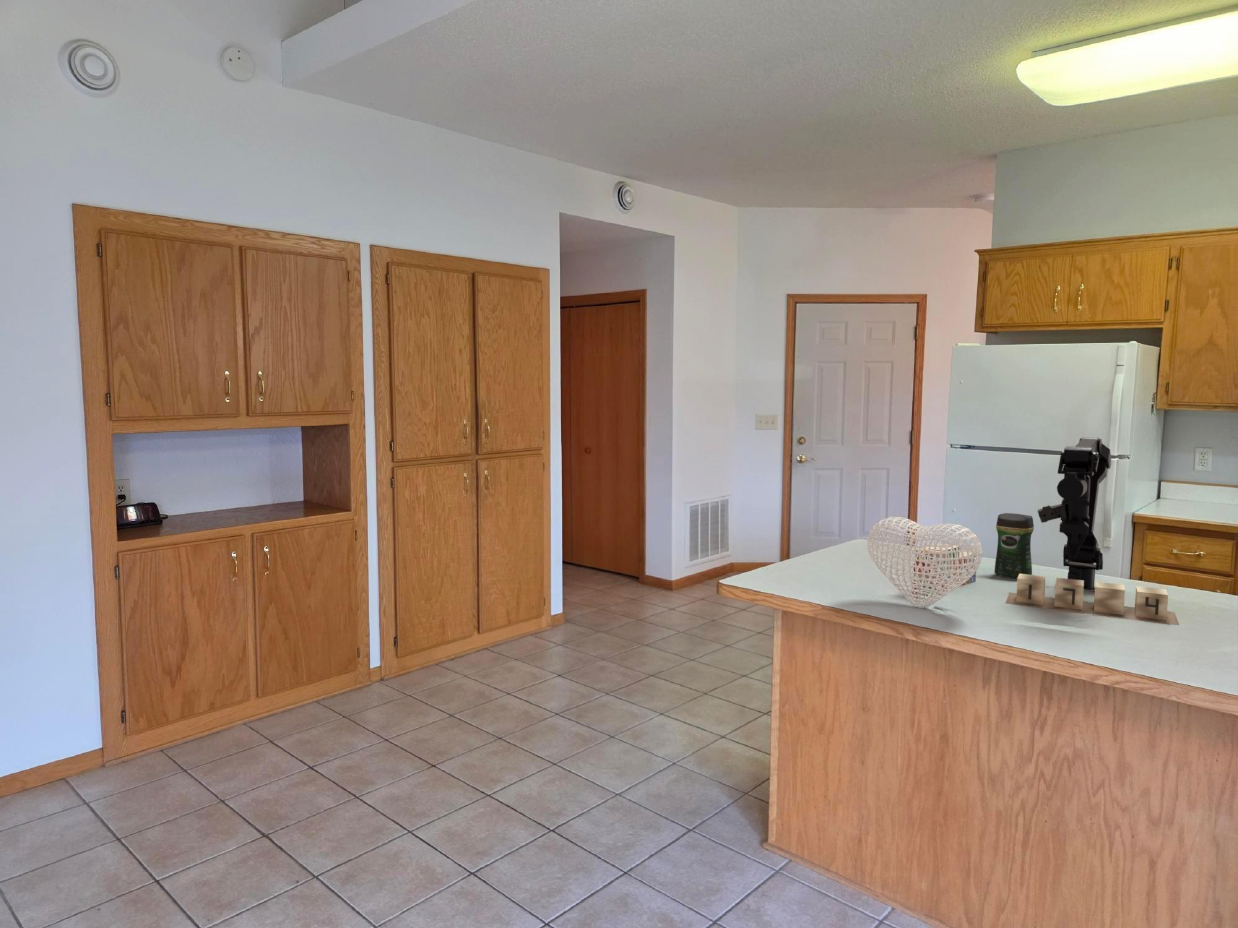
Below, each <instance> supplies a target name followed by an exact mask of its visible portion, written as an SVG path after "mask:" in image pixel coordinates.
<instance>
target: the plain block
mask: <svg viewBox="0 0 1238 928" xmlns="http://www.w3.org/2000/svg"><path fill="white" fill-rule="evenodd" d="M1094 587H1095V590H1094V598H1093V599H1094V611H1097V612H1105V613H1113V614H1121V615H1123V613H1124V606H1125V594H1126V592H1125V591H1126V588H1125V584H1119V583H1109V582H1102V581H1094Z"/></svg>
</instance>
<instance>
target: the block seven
mask: <svg viewBox="0 0 1238 928" xmlns="http://www.w3.org/2000/svg"><path fill="white" fill-rule="evenodd" d="M1084 590H1085V589H1084V580H1074V579H1068V578H1066V577H1065V578H1064V577H1056V578H1055V587H1054V598H1055V603H1054V606H1057V607H1065V608H1073V609H1081V610H1082V606H1083V601H1084V600H1083V599H1084Z"/></svg>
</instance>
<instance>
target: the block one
mask: <svg viewBox="0 0 1238 928" xmlns="http://www.w3.org/2000/svg"><path fill="white" fill-rule="evenodd" d="M1045 588H1046V576H1044V575H1037V574H1035V575H1034V574H1032V575H1028V574H1019V575H1018V578H1017V579H1016V593H1017V596H1016V602H1024V603H1032V604H1041V605H1043V602H1044V597H1045V591H1046V590H1045Z"/></svg>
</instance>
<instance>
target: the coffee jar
mask: <svg viewBox="0 0 1238 928" xmlns="http://www.w3.org/2000/svg"><path fill="white" fill-rule="evenodd" d="M1034 526H1035V525H1034V518H1033V516H1032V515H1027V514H1020V513H1012V512H1011V513H1010V512H1009V513H1008V512H1004V513H1000V514H998V516H997V520H996V526H995V528H996V529H995V530H996V532H997V547H996V555H995V561H994V574H995V575H997V576H999V577H1002V578H1008V577H1009V578H1008V579H1014V580H1015V579H1016V580H1017V578H1018V575H1019V574H1028V575H1033V565H1032V564H1033V563H1032V551H1031V547H1032V546H1031V539H1032V534H1033V532H1034V529H1035V527H1034Z"/></svg>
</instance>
